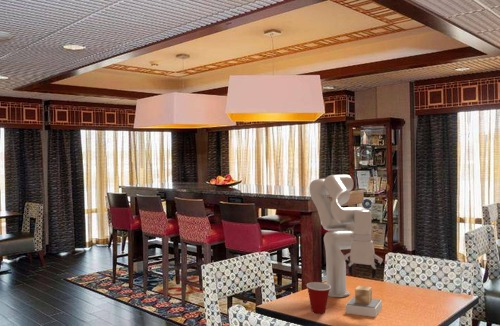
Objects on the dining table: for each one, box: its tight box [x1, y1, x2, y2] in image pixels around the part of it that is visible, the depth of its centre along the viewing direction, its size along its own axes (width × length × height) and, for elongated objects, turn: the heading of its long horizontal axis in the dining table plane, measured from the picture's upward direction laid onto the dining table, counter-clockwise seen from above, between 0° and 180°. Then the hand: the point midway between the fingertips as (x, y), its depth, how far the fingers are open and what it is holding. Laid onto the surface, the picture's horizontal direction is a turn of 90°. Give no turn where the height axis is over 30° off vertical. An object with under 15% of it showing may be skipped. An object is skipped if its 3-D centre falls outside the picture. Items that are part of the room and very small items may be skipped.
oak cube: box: [354, 285, 373, 304], centre depth 213 cm, size 6×6×6 cm
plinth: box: [344, 296, 383, 318], centre depth 213 cm, size 13×13×4 cm
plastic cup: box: [305, 281, 331, 315], centre depth 212 cm, size 11×11×12 cm
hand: (362, 276), depth 213 cm, fingers open, 9 cm apart
